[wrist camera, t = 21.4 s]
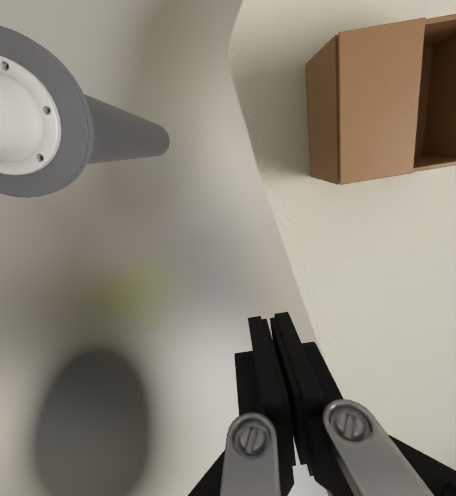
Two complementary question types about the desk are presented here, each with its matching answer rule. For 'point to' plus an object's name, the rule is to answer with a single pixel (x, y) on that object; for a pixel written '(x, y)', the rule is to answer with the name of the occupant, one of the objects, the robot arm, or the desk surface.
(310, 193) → the desk surface
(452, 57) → the carton
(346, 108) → the flap
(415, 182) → the desk surface
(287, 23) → the desk surface
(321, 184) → the desk surface
